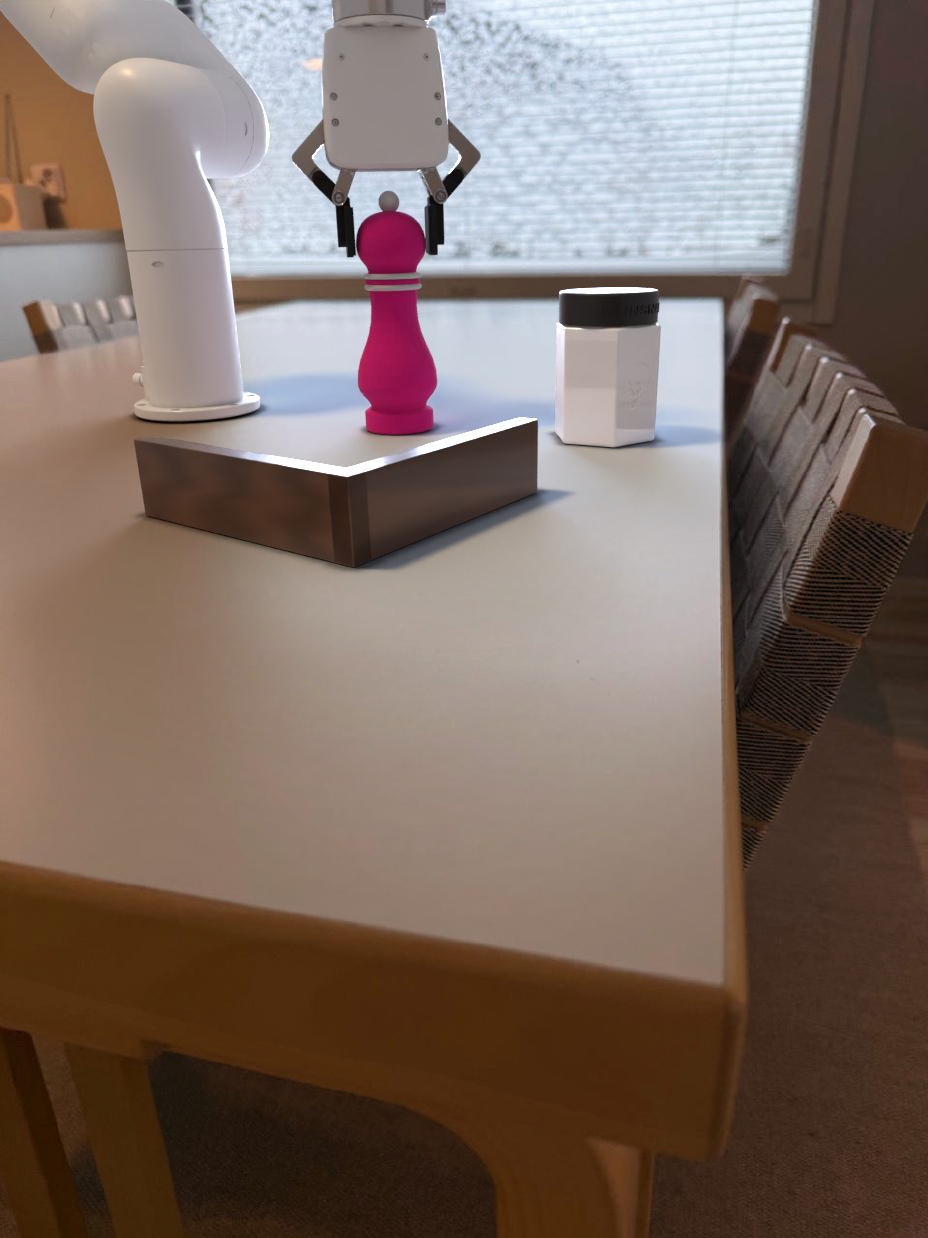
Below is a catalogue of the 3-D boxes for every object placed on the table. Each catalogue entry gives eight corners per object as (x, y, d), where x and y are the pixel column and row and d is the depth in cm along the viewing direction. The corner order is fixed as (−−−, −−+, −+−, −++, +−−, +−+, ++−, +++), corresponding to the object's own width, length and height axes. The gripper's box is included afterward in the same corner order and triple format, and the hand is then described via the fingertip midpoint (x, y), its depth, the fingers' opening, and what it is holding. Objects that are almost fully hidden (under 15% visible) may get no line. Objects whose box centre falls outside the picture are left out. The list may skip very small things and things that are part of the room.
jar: (595, 452, 74) (600, 294, 70) (533, 436, 81) (535, 291, 76) (675, 437, 79) (685, 289, 74) (611, 423, 85) (616, 286, 81)
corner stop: (145, 515, 60) (132, 439, 58) (341, 460, 74) (337, 396, 72) (353, 567, 50) (347, 476, 48) (537, 492, 63) (538, 419, 62)
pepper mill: (452, 423, 87) (445, 189, 79) (416, 438, 81) (405, 187, 73) (385, 418, 90) (372, 193, 82) (346, 433, 84) (328, 190, 76)
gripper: (480, 22, 77) (483, 252, 84) (270, 21, 75) (291, 257, 82) (496, 1, 70) (498, 254, 77) (266, -1, 68) (289, 259, 75)
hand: (391, 253), depth 80 cm, fingers open, 6 cm apart
